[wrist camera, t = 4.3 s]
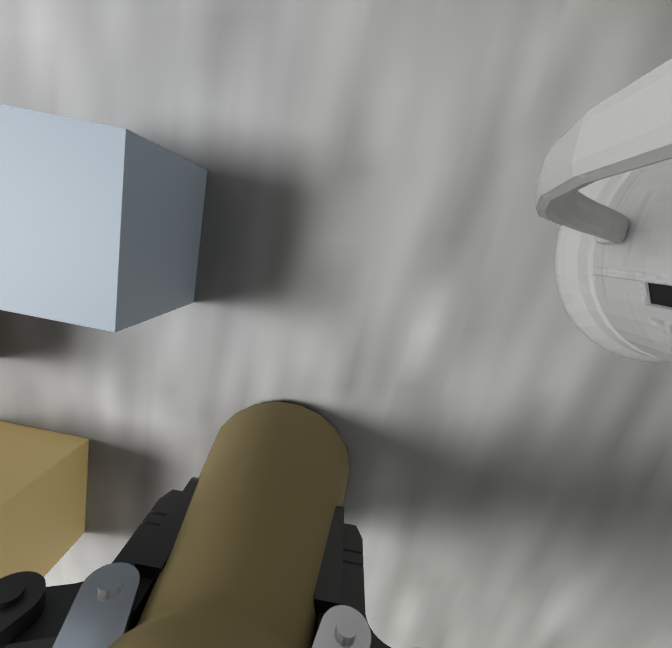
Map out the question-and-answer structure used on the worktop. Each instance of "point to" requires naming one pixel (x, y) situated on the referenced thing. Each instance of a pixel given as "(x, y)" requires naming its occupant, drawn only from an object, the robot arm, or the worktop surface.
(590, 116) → the glass holder
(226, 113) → the worktop surface
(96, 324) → the slate block
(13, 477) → the mustard block
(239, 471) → the cork
